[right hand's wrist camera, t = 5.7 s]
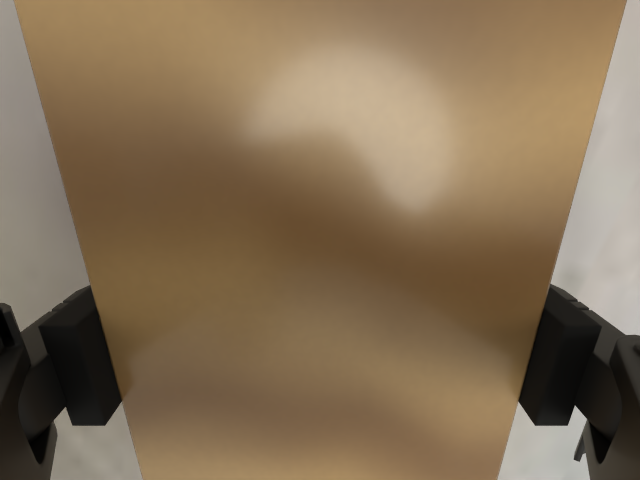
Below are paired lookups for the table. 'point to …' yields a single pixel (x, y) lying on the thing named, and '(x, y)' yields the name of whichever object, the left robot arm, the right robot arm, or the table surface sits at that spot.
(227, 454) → the wooden beam
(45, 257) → the table surface
